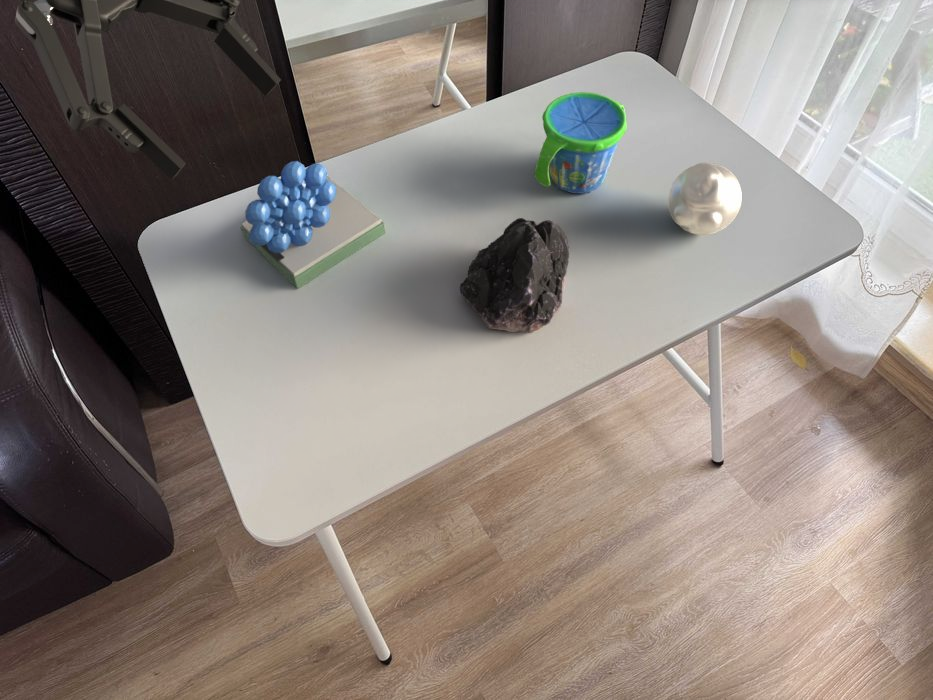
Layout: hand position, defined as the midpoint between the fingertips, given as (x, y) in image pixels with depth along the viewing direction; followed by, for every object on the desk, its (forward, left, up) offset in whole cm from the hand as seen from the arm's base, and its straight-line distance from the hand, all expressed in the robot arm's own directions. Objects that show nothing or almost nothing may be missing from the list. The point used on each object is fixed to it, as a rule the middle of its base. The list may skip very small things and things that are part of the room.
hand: (228, 128), depth 65 cm
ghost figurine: (+46, -25, -27) cm, 59 cm away
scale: (+9, +9, -26) cm, 29 cm away
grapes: (+6, +7, -24) cm, 26 cm away
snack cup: (+42, -8, -27) cm, 51 cm away
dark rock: (+21, -17, -27) cm, 38 cm away
